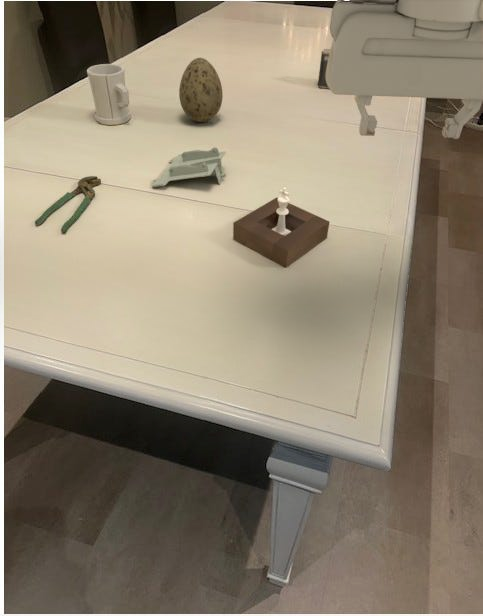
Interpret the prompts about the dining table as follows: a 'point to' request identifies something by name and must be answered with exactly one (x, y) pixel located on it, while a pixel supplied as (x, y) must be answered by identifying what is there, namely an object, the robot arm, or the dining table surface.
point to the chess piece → (282, 212)
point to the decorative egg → (200, 91)
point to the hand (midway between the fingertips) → (407, 135)
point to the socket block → (274, 245)
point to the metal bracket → (193, 166)
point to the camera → (323, 69)
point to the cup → (109, 93)
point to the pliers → (82, 187)
